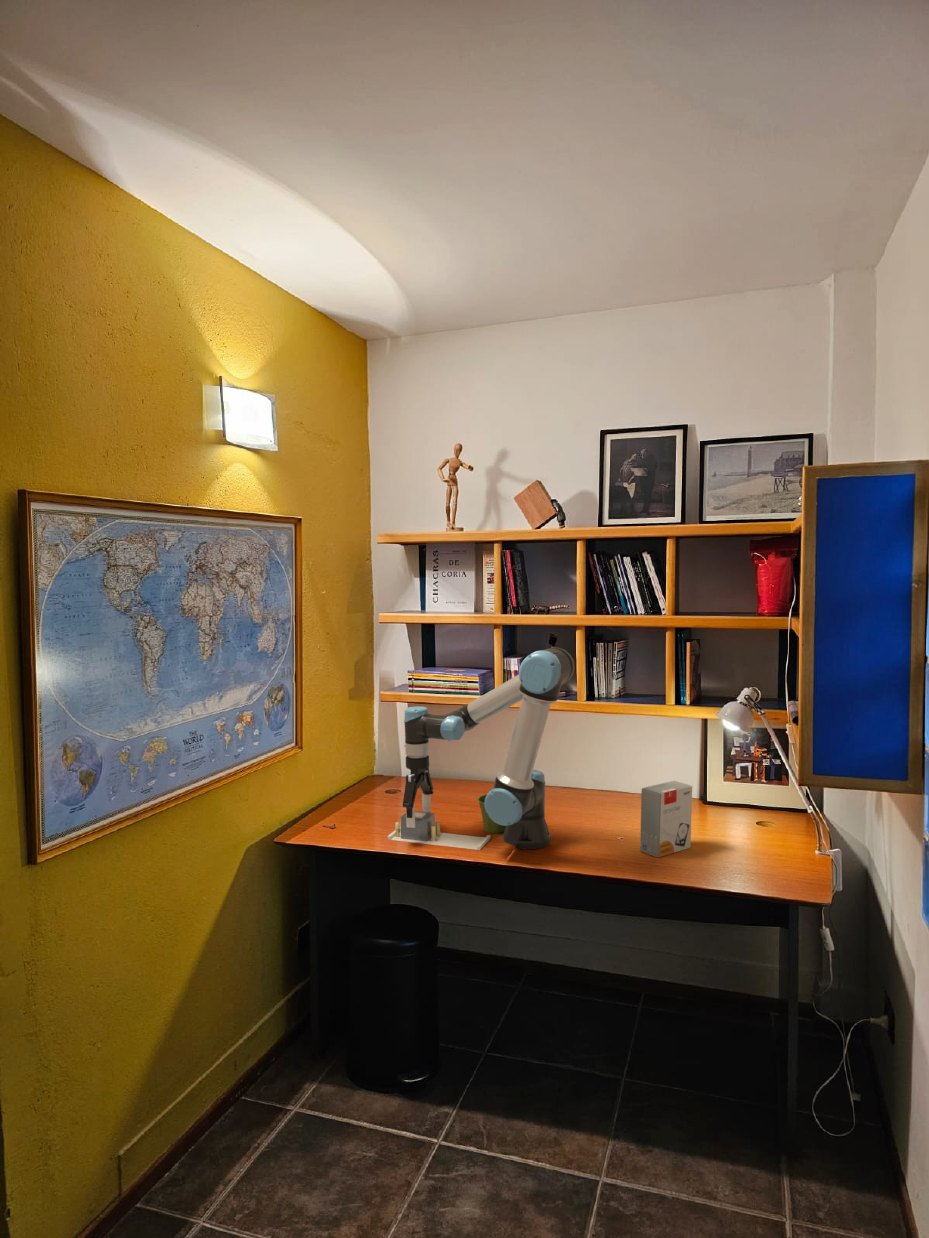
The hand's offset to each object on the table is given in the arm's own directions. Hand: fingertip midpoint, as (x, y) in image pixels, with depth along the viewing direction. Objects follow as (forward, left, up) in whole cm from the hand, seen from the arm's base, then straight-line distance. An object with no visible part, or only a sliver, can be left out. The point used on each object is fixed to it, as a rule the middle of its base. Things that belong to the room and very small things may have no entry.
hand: (418, 820), depth 257 cm
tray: (-6, -4, -6) cm, 9 cm away
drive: (0, 0, -5) cm, 5 cm away
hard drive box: (-55, -55, -6) cm, 78 cm away
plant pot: (-10, -24, -6) cm, 27 cm away
